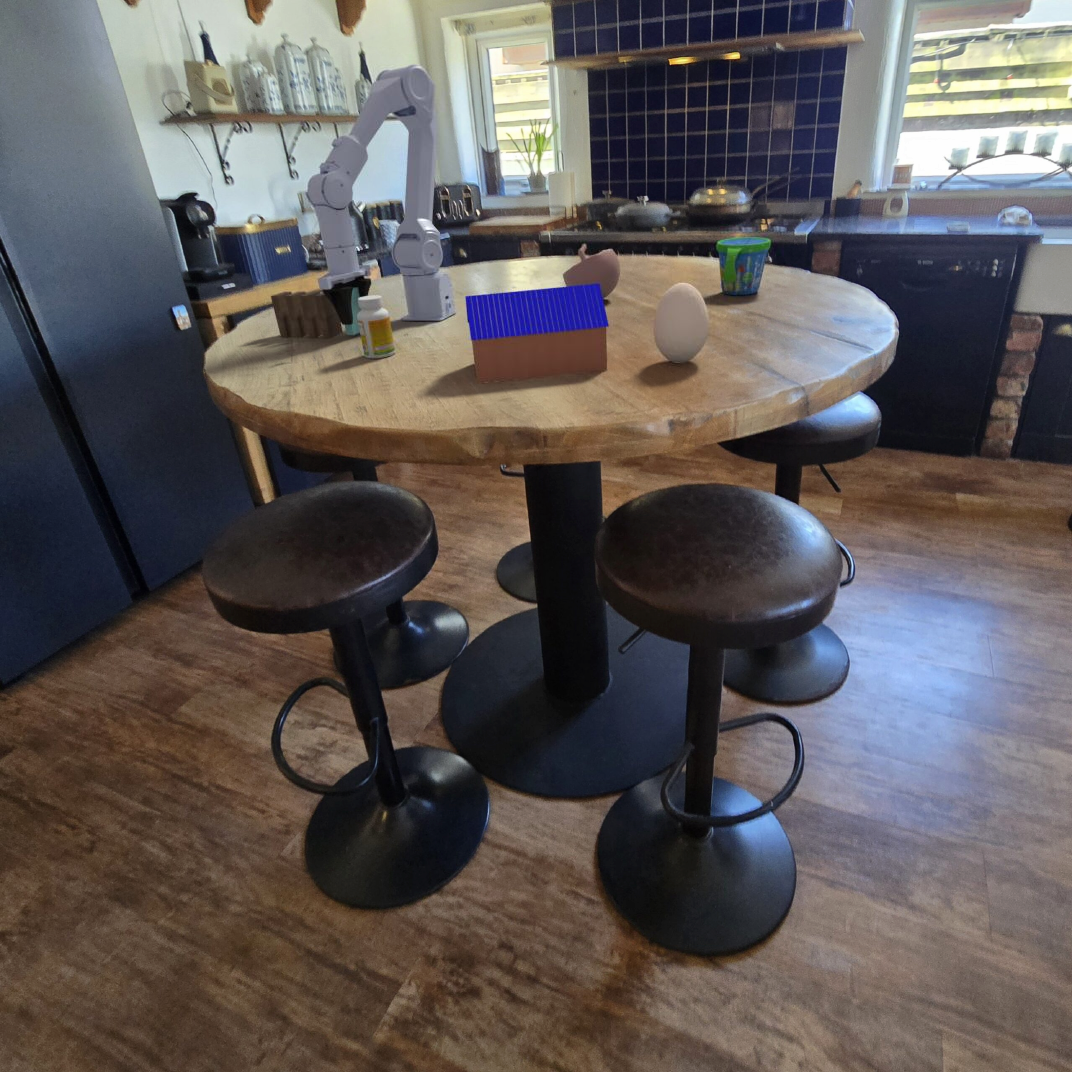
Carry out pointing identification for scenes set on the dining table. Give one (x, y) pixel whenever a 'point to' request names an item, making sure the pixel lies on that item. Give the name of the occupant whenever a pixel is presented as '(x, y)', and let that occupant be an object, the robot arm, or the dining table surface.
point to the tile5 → (282, 314)
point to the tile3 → (311, 314)
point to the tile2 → (327, 317)
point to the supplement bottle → (375, 328)
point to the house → (538, 332)
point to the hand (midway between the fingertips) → (354, 321)
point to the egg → (681, 323)
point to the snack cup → (742, 264)
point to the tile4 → (296, 314)
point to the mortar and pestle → (595, 271)
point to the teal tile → (354, 313)
